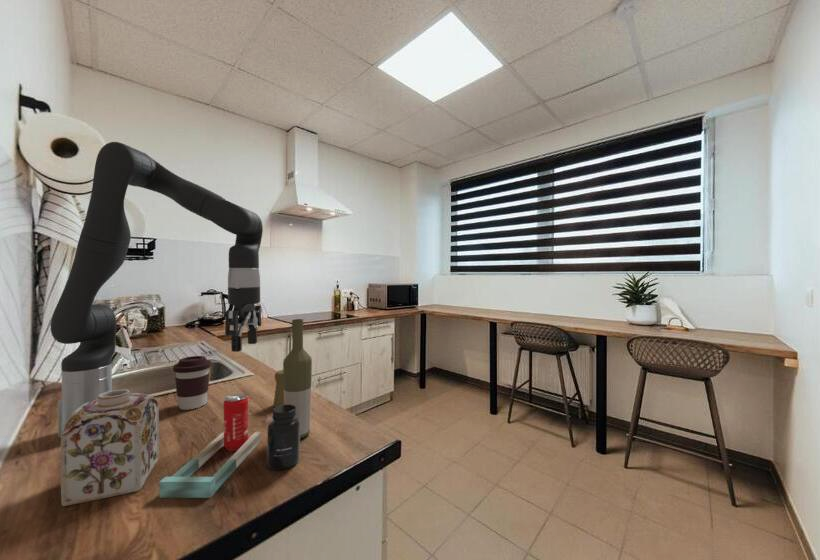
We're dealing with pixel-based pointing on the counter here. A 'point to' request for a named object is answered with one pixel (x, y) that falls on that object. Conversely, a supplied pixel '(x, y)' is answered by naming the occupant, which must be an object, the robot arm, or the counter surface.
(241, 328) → the robot arm
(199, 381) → the coffee cup
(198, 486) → the beam
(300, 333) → the bottle
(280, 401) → the cork
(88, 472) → the decorative jar
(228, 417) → the beverage can
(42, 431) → the counter surface
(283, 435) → the supplement bottle
